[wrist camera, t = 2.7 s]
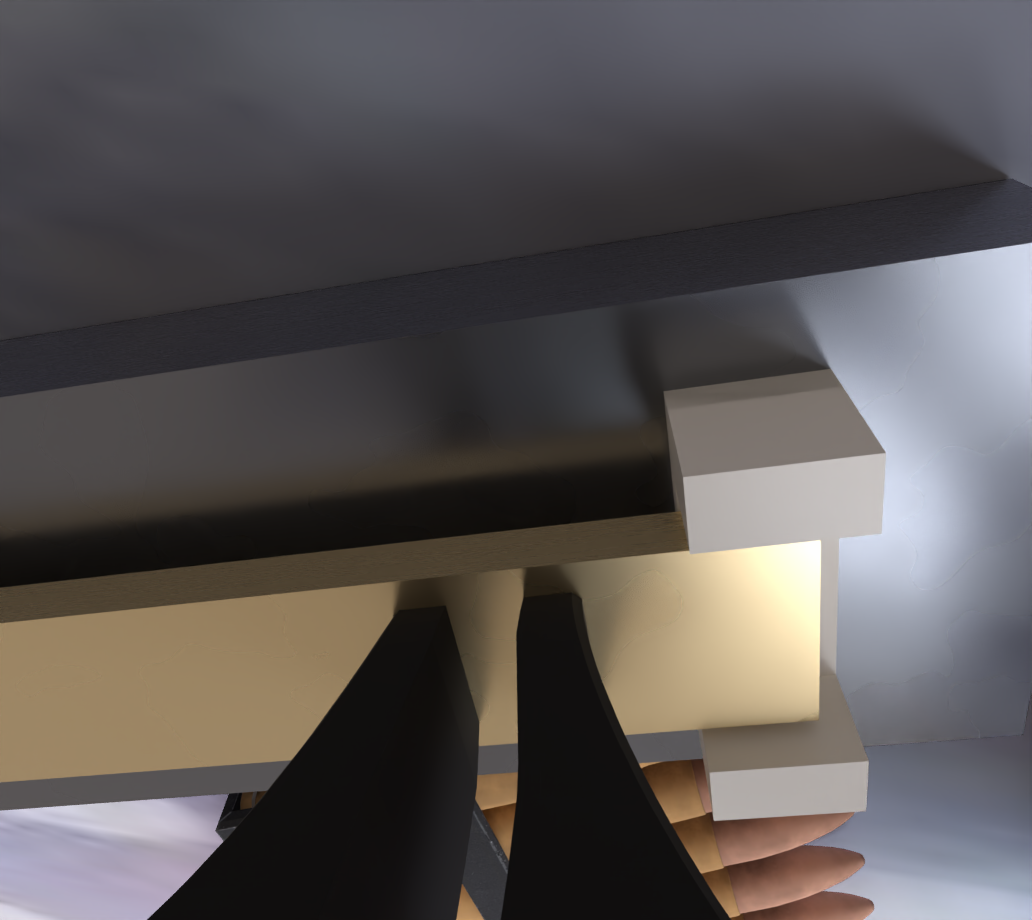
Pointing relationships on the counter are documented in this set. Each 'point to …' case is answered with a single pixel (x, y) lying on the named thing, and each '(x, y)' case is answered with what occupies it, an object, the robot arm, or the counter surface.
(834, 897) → the ammunition clip
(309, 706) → the tan long flat bar
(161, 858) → the counter surface
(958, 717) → the block
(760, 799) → the lug
